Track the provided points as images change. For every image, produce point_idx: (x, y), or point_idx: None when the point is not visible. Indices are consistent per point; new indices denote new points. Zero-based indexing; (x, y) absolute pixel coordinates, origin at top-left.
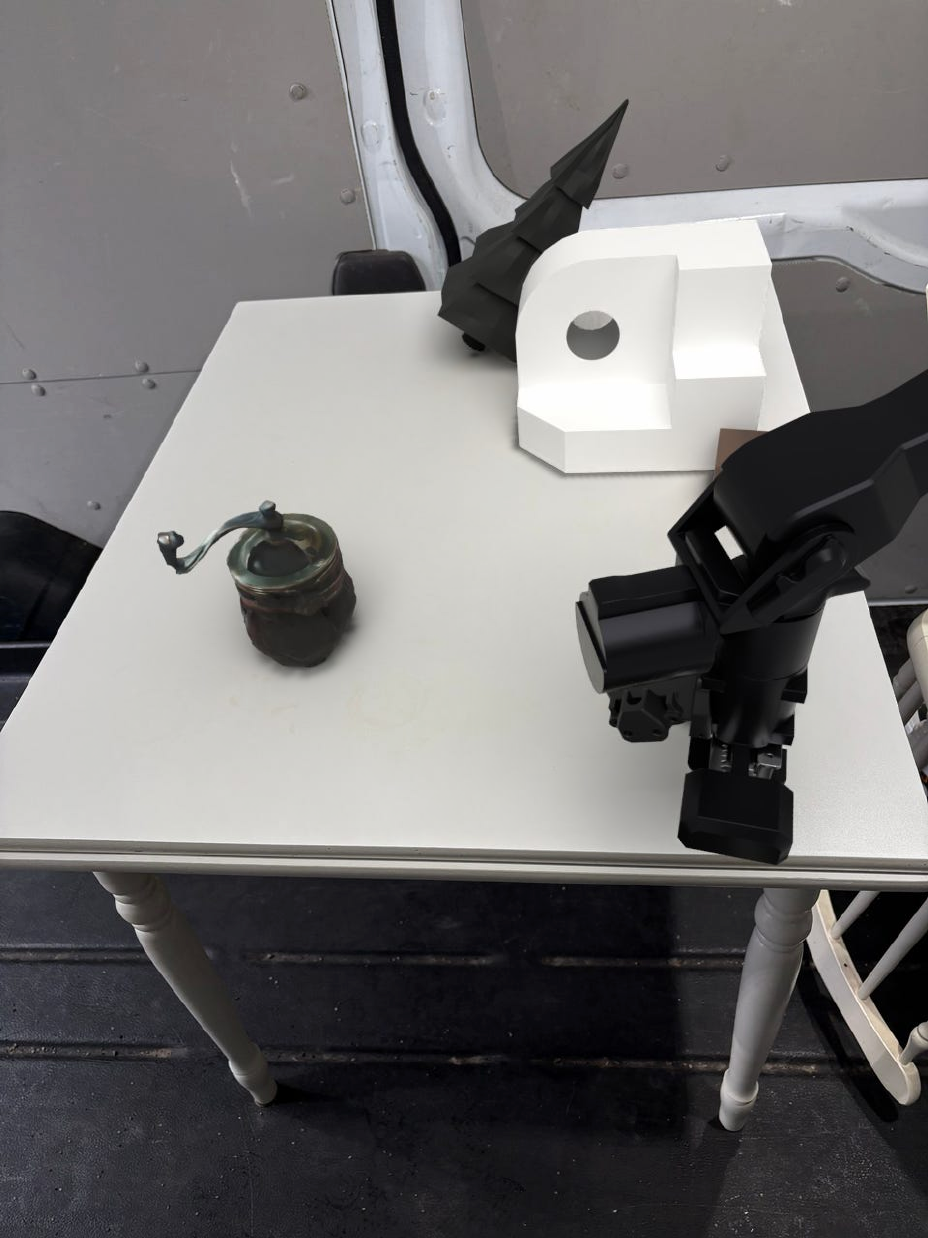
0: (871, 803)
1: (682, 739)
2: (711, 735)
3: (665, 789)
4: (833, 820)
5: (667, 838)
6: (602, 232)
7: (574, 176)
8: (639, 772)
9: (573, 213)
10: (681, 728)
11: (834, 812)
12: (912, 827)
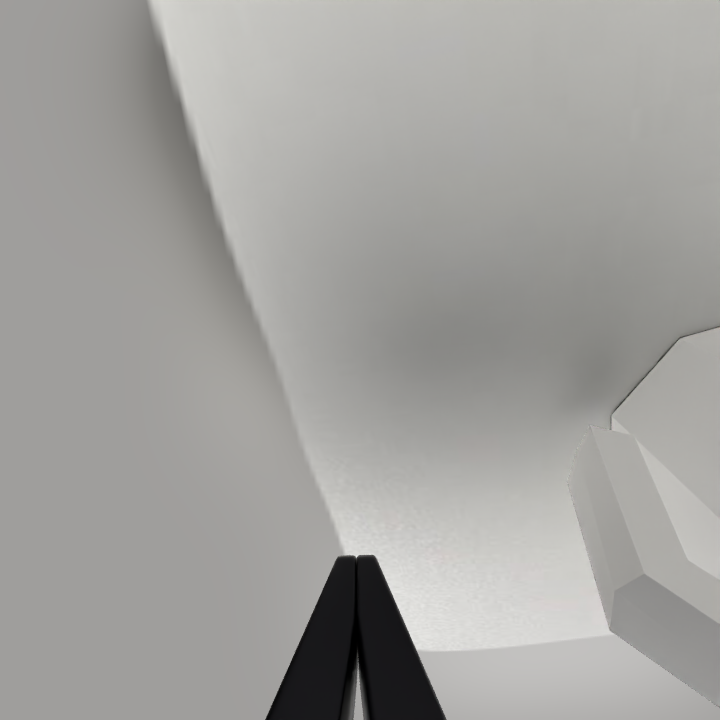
0: (457, 614)
1: (602, 334)
2: (594, 458)
3: (437, 312)
4: (415, 579)
5: (296, 335)
6: None
7: None
8: (486, 234)
9: None
10: (640, 327)
11: (431, 579)
12: (422, 647)
